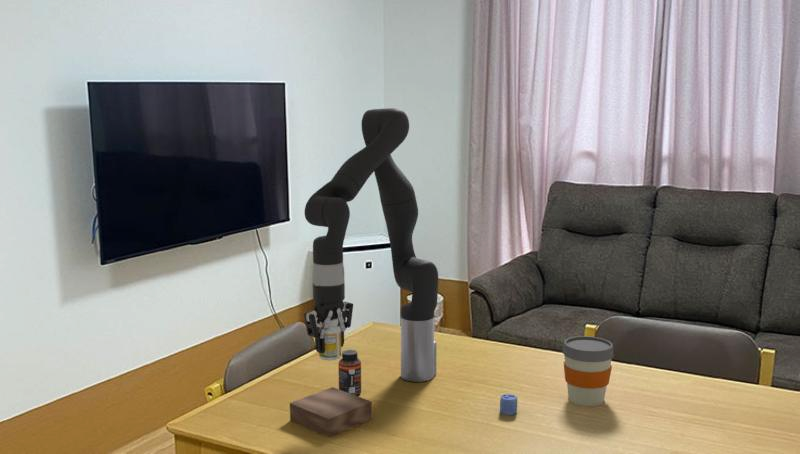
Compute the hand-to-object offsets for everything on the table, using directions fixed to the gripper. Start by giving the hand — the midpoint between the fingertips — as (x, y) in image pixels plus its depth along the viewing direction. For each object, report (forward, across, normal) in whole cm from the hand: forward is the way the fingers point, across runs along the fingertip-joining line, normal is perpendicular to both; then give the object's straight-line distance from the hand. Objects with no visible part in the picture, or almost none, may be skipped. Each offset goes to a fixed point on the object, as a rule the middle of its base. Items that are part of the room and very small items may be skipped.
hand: (329, 349), depth 198 cm
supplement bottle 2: (+18, -15, -9) cm, 25 cm away
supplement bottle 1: (+2, 0, 0) cm, 2 cm away
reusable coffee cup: (+18, -53, +39) cm, 68 cm away
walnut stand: (+18, 0, 0) cm, 18 cm away
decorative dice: (+18, -33, +29) cm, 48 cm away
